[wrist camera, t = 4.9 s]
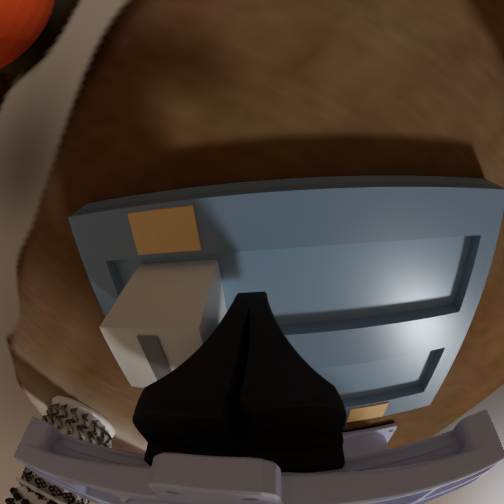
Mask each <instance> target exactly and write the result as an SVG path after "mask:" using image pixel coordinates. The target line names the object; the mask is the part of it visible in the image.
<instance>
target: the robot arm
mask: <svg viewBox="0 0 504 504" xmlns="http://www.w3.org/2000/svg"><path fill="white" fill-rule="evenodd" d="M346 420H347V413H346V409H345V407H344V404H343V401H342V399H341V397H340V395H339V393H338V391H337V389H336V388H335V386H334V385H332V384H331V383H330V382H328V381H327V380H326V379H324V378H323V377H322V376H321V375H319V374H318V373H317V372H316V371H315V370H314V369H313V368H312V367H311V366H310V365H309V364H308V363H307V362H306V361H305V360H304V359H303V358H302V357H301V356H300V355H299V354H298V352H297V351H296V350H295V349H294V348H293V346H292V345H291V344H290V342H289V341H288V339H287V338H286V336H285V335H284V333H283V332H282V330H281V328H280V327H279V325H278V323H277V321H276V319H275V317H274V315H273V313H272V310H271V308H270V305H269V302H268V298H267V293H266V292H265V291H263V292H246V293H238V294H237V295H236V296H235V298H234V300H233V302H232V304H231V306H230V308H229V309H228V311H227V313H226V314H225V316H224V317H223V319H222V320H221V322H220V323H219V325H218V326H217V327H216V328H215V330H214V331H213V332H212V334H211V335H210V336H209V337H208V339H207V340H206V341H205V342H204V343H203V344H202V345H201V346H200V348H199V349H198V350H197V351H196V352H194V353H193V354H192V355H191V356H190V357H189V358H188V359H187V360H186V361H185V362H183V363H182V364H181V365H180V366H178V367H177V368H176V369H174V370H173V371H171V372H170V373H169V374H167V375H166V376H164V377H162V378H161V379H159V380H157V381H156V382H154V383H152V384H150V385H148V386H147V387H145V388H144V390H143V392H142V394H141V396H140V398H139V400H138V403H137V406H136V409H135V412H134V415H133V423H134V425H135V427H136V428H137V430H138V431H139V432H140V433H141V435H142V436H143V437H144V438H145V439H146V441H147V442H148V446H147V449H146V453H145V455H140V454H135V453H130V452H126V451H121V450H117V449H112V448H108V447H104V446H100V445H97V444H93V443H90V442H86V441H83V440H79V439H76V438H73V437H70V436H67V435H64V434H61V433H60V431H59V430H58V429H57V428H56V427H55V426H53V425H52V424H50V423H48V422H46V421H43V420H41V419H38V418H35V417H32V418H31V420H30V423H29V424H28V426H27V429H26V431H25V433H24V435H23V437H22V439H21V441H20V443H19V445H18V448H17V450H16V452H15V454H14V457H15V458H16V459H17V460H18V461H19V462H21V463H22V464H23V465H25V466H26V467H27V468H29V469H30V470H31V471H33V472H34V473H35V474H37V475H38V476H40V477H41V478H43V479H44V480H46V481H47V482H49V483H52V484H54V485H56V486H58V487H60V488H62V489H64V490H67V491H69V492H71V493H73V494H76V495H78V496H80V497H82V498H85V499H87V500H90V501H92V502H95V503H97V504H425V503H427V502H430V501H432V500H435V499H437V498H440V497H442V496H444V495H447V494H449V493H451V492H454V491H456V490H458V489H460V488H462V487H464V486H467V485H469V484H471V483H473V482H475V481H476V480H478V479H479V478H480V477H482V476H483V475H484V474H486V473H487V472H488V471H490V470H491V469H492V468H493V467H495V466H496V465H497V464H498V463H500V462H501V461H502V460H503V459H504V450H503V447H502V445H501V442H500V440H499V437H498V435H497V432H496V430H495V428H494V425H493V423H492V421H491V418H490V416H489V414H488V412H487V410H483V411H481V412H478V413H476V414H473V415H471V416H468V417H466V418H464V419H463V420H461V421H460V422H459V423H458V424H457V425H456V426H455V428H454V430H452V431H449V432H446V433H443V434H441V435H438V436H435V437H431V438H428V439H425V440H422V441H418V442H415V443H411V444H408V445H404V446H400V447H396V448H392V449H388V445H387V442H388V441H389V439H390V438H391V436H392V434H393V433H394V431H395V430H396V428H397V424H396V423H392V424H388V425H383V426H378V427H373V428H368V429H362V430H356V431H350V432H344V433H342V432H343V429H344V426H345V423H346Z"/></svg>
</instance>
